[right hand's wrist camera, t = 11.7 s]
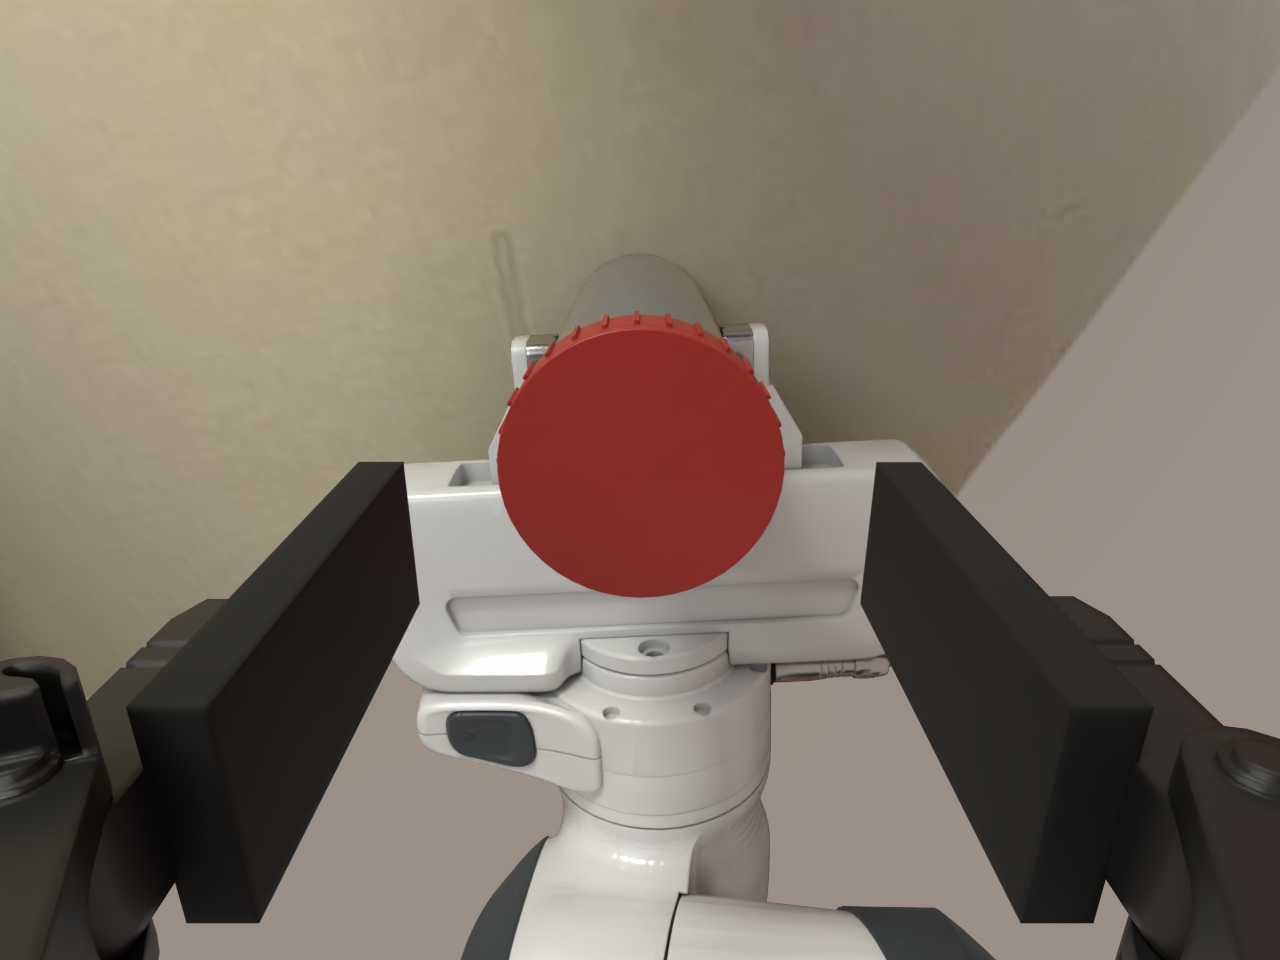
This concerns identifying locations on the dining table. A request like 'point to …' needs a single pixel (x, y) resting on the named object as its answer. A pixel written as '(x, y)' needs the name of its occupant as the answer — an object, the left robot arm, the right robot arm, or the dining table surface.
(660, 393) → the lid
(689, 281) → the jar
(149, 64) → the dining table surface
